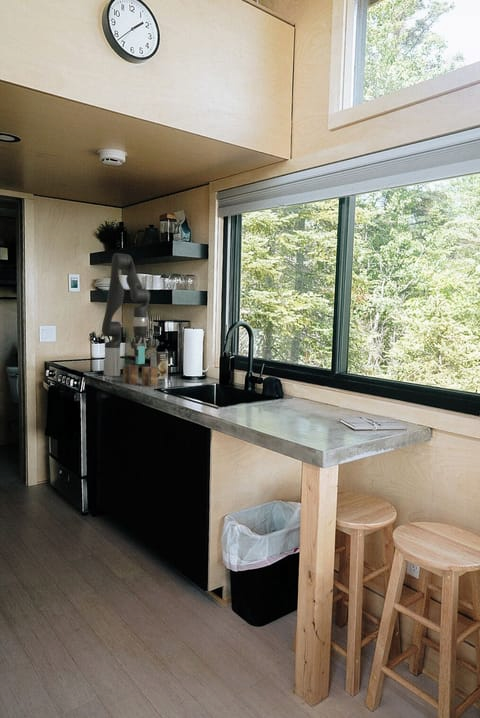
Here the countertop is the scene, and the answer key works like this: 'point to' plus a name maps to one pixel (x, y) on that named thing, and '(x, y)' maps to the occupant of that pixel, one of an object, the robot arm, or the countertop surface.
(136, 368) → the domino
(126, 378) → the domino
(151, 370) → the domino
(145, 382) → the domino
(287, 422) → the countertop surface
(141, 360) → the domino
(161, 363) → the coffee box
